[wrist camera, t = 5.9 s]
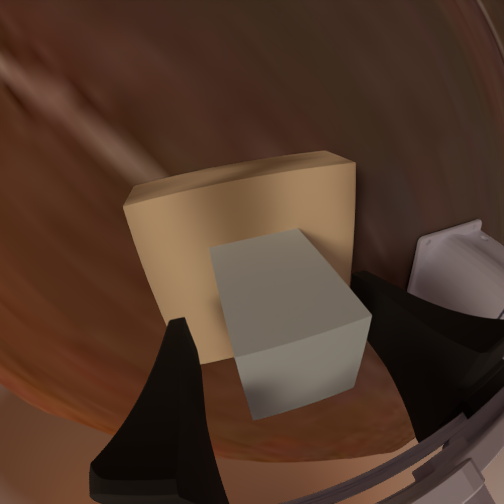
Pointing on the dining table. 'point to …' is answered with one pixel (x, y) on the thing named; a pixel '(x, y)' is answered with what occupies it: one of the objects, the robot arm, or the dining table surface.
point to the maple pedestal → (236, 228)
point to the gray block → (288, 321)
